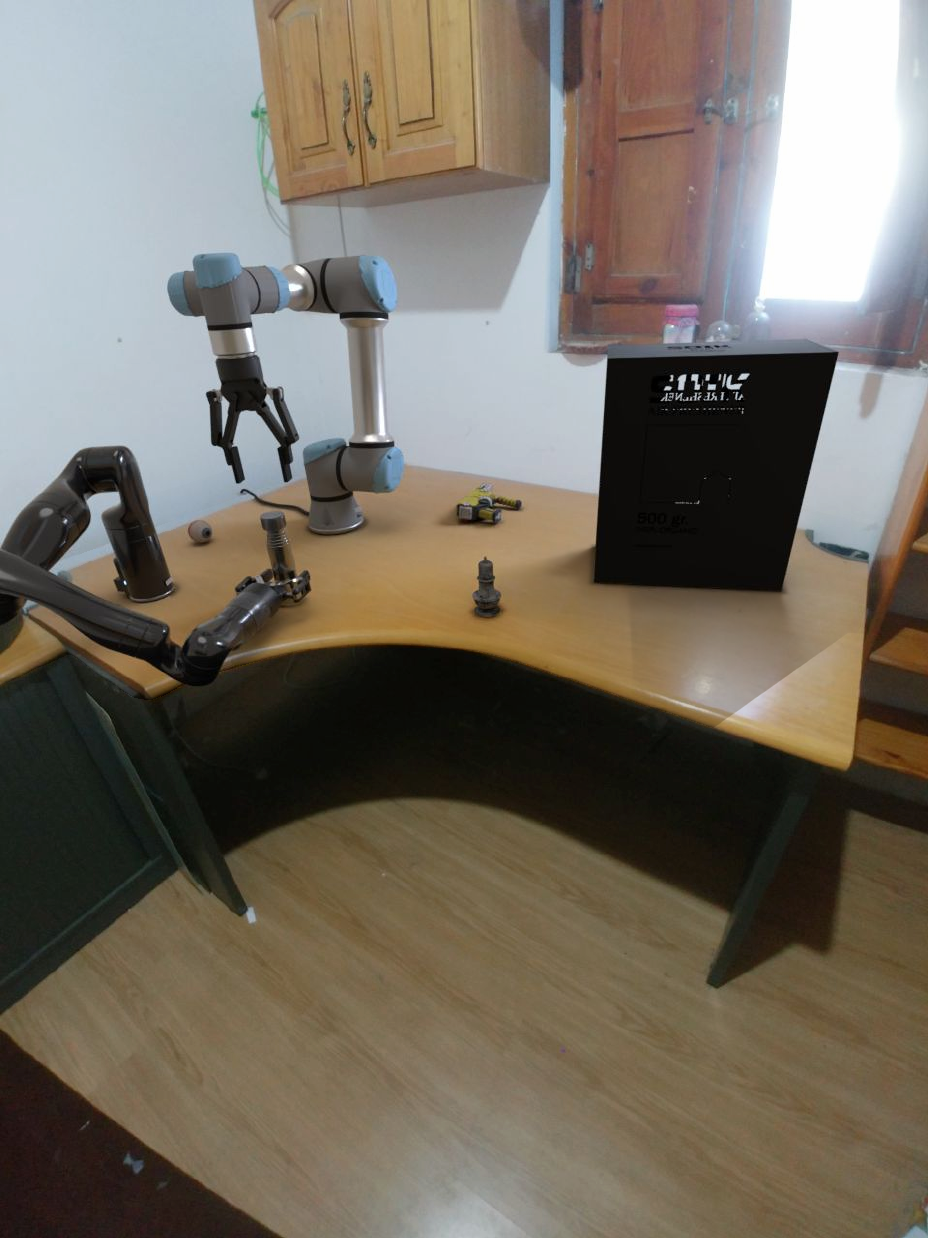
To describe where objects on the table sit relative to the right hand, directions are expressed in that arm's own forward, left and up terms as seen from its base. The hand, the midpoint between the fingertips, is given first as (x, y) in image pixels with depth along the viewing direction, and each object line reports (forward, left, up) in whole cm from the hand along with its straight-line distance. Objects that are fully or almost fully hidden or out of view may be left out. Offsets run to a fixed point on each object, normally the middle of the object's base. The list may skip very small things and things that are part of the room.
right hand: (264, 480), depth 117 cm
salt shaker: (+32, +29, -27) cm, 51 cm away
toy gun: (-13, +67, -27) cm, 74 cm away
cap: (0, 0, -7) cm, 7 cm away
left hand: (-1, +1, -21) cm, 21 cm away
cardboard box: (+45, +74, -27) cm, 91 cm away
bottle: (0, 0, -27) cm, 27 cm away
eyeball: (-49, -5, -27) cm, 56 cm away
